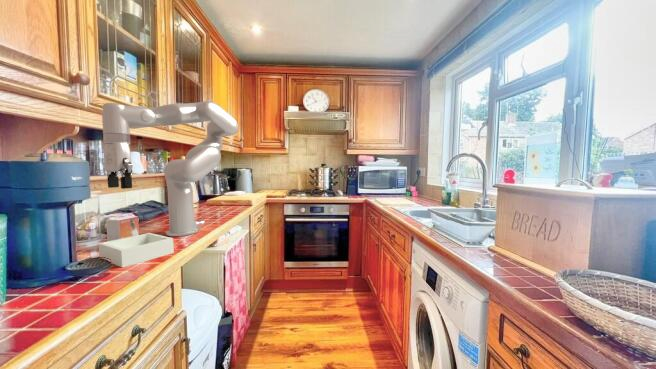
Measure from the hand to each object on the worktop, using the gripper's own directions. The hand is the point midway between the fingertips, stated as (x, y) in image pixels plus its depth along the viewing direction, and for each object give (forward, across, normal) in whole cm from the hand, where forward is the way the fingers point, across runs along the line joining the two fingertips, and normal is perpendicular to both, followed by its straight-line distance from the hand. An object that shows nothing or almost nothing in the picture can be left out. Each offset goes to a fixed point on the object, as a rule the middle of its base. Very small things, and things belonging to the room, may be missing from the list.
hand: (120, 187), depth 99 cm
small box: (+22, 0, 0) cm, 22 cm away
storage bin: (+21, +16, -3) cm, 27 cm away
